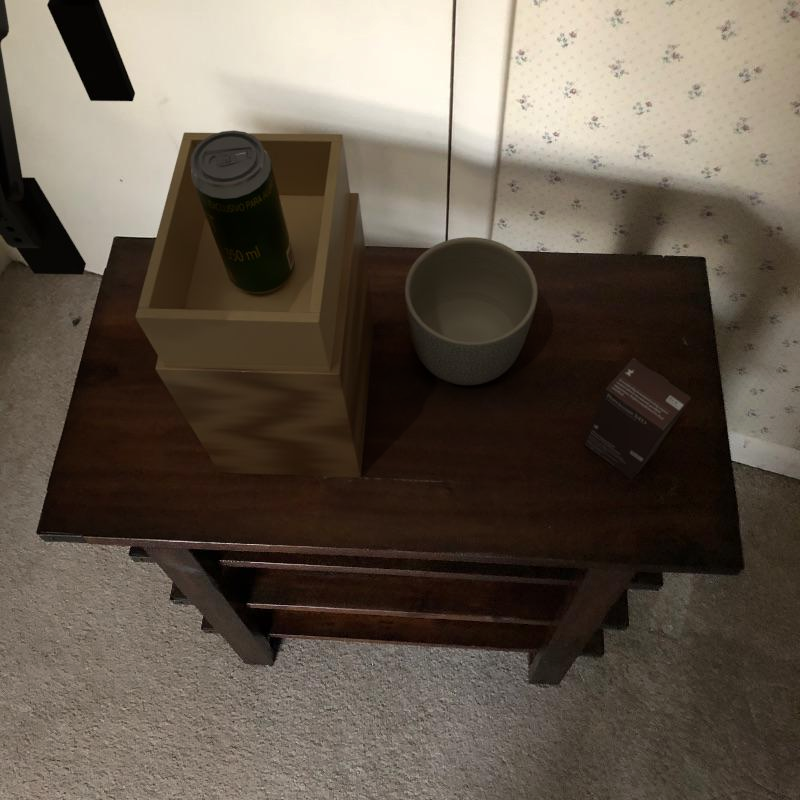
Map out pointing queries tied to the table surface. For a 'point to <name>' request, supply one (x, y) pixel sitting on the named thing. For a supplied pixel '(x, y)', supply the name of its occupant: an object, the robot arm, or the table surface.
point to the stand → (291, 394)
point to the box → (634, 418)
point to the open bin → (229, 305)
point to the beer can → (243, 210)
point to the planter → (469, 308)
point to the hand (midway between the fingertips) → (88, 177)
